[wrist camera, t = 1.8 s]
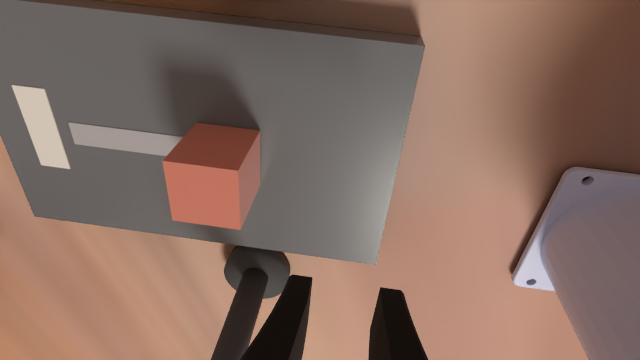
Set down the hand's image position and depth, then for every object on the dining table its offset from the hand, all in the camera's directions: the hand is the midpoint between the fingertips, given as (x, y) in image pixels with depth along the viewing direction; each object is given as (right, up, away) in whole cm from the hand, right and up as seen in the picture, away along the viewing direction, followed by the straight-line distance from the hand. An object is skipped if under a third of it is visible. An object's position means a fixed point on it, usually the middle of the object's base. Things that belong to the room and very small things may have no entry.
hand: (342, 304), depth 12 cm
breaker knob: (-5, +5, +7) cm, 10 cm away
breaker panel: (-7, +6, +8) cm, 12 cm away
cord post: (-5, -2, +13) cm, 14 cm away
